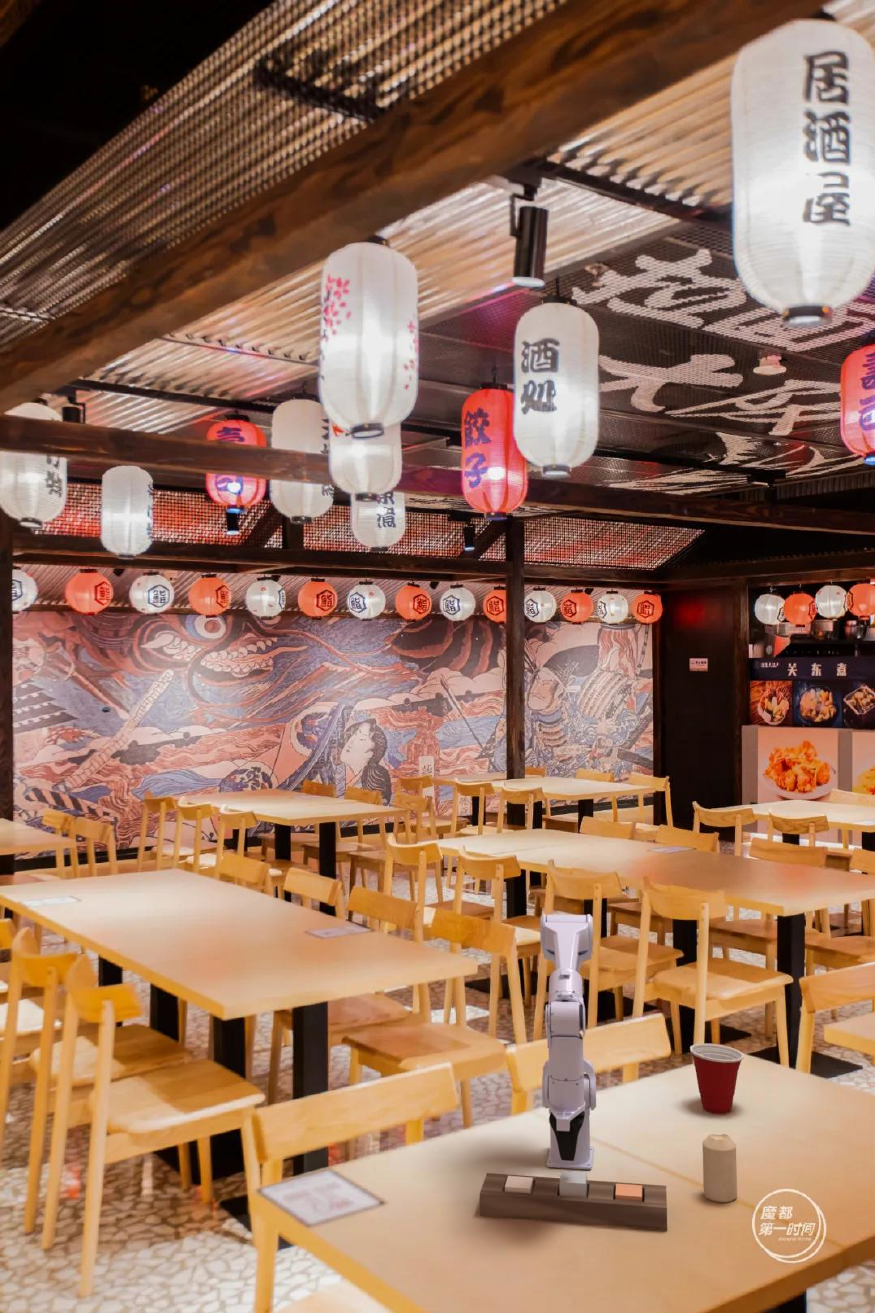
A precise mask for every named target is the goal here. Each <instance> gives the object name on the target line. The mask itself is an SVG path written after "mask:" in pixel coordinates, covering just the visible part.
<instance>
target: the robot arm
mask: <svg viewBox="0 0 875 1313" xmlns="http://www.w3.org/2000/svg"><path fill="white" fill-rule="evenodd" d="M539 926H540V927H539V932H540V933H539V934H540V935H539V936H540V946H541V953H542V955H543V958H544V959H546V960H547V961H550V962H552V963H553V966H554V969H555V970H553V972H551V974H550V977H549V980H548V981H549V982H548V1004H546V1005H545V1016H544V1018H545V1019H544V1020H545V1022H544V1025H545V1033H546V1039H547V1041H546V1042H547V1049H548V1060H546V1061H545V1062H544V1064H543V1066H542V1078H541V1079H542V1080H541V1097H542V1098H541V1099H542V1102H541V1104H542V1107H543V1108H545V1109H548V1113H549V1116H548V1122H549V1123H548V1124H549V1130H550V1131H549V1134H550V1135H549V1137H550V1143H549V1144H550V1148H549V1152H548V1157H547V1161H546V1166H547V1168H562V1169H572V1170H573V1169H576V1170H588V1171H589V1170H592V1168H593V1159H594V1150H595V1148H594V1146H593V1145H591V1136H590V1135H591V1132H590V1130H591V1128H590V1122H591V1121H590V1115H591V1111H595V1109H596V1107H597V1077H596V1068H595V1067H594V1064H593V1063H592V1062H591V1061H590V1060H588V1059H587V1058H586V1057H585V1056H584V1038H585V1035H586V1007H585V1003H584V997H583V978H582V976H581V974H580V971H581V967H582V966H583V963H584V962H586V961H589V960H591V959H592V955H593V947H594V918H593V916H592V915H591V914H589V913H588V914H547V913H542V915H541V916H540V923H539ZM581 1031H582V1034H581V1033H580V1032H581Z"/></svg>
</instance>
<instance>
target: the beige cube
mask: <svg viewBox="0 0 875 1313" xmlns="http://www.w3.org/2000/svg"><path fill="white" fill-rule="evenodd" d="M505 1192H519V1193H532V1194H533V1178H531V1177H517V1176H508V1178H507V1181H506V1185H505Z"/></svg>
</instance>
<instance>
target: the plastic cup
mask: <svg viewBox="0 0 875 1313" xmlns="http://www.w3.org/2000/svg"><path fill="white" fill-rule="evenodd" d="M689 1048H690V1049H689V1050H690V1053H691V1056H692V1058H693V1065H694V1069H695V1074H696V1082H697V1086H698V1092H699V1096H700V1102H701V1106H702V1110H704V1111H705V1112H707V1113H709V1112H710V1113H711V1114H715V1115H723V1114H722V1113H726V1114H728V1113H727V1112H729V1113H730V1112H731V1111H732V1108H733V1104H734V1102H733V1101H734V1096H735V1092H736V1087H737V1086H736V1085H737V1079H738V1074H739V1070H740V1069H739V1068H740V1066H741V1062H742V1060H743V1059H744V1058H745V1056H744V1053H743V1052H741V1051H740V1050H739V1049H737V1048H733V1047H731V1046H727V1045H723V1044H714V1043H703V1042H702V1043H696V1044H693V1045H690V1047H689Z"/></svg>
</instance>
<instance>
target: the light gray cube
mask: <svg viewBox="0 0 875 1313" xmlns="http://www.w3.org/2000/svg"><path fill="white" fill-rule="evenodd" d="M559 1178H560V1182H559V1185H560V1196H572V1197H586V1198H587V1180H588V1173H587V1172H579V1171H568V1170H567V1171H565V1170H561V1172H560V1177H559Z"/></svg>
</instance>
